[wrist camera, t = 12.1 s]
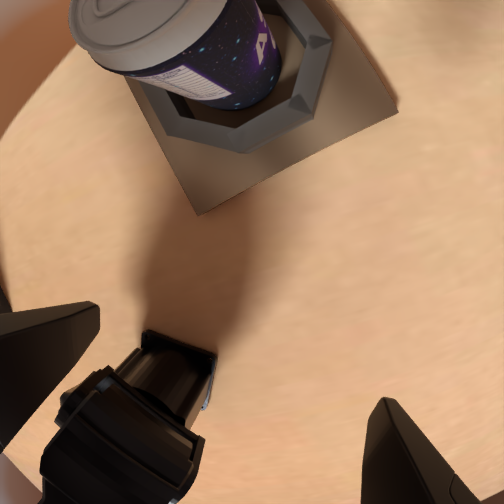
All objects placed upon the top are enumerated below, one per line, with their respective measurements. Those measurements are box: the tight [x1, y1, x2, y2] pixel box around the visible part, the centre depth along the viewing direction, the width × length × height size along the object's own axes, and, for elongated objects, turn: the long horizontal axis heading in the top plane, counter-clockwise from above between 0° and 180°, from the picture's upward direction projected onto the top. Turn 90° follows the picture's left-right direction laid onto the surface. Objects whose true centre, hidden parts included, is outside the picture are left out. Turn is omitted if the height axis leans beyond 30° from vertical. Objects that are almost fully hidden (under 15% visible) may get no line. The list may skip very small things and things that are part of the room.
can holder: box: [124, 0, 399, 216], centre depth 17 cm, size 14×14×4 cm
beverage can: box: [68, 0, 282, 111], centre depth 12 cm, size 6×6×12 cm
